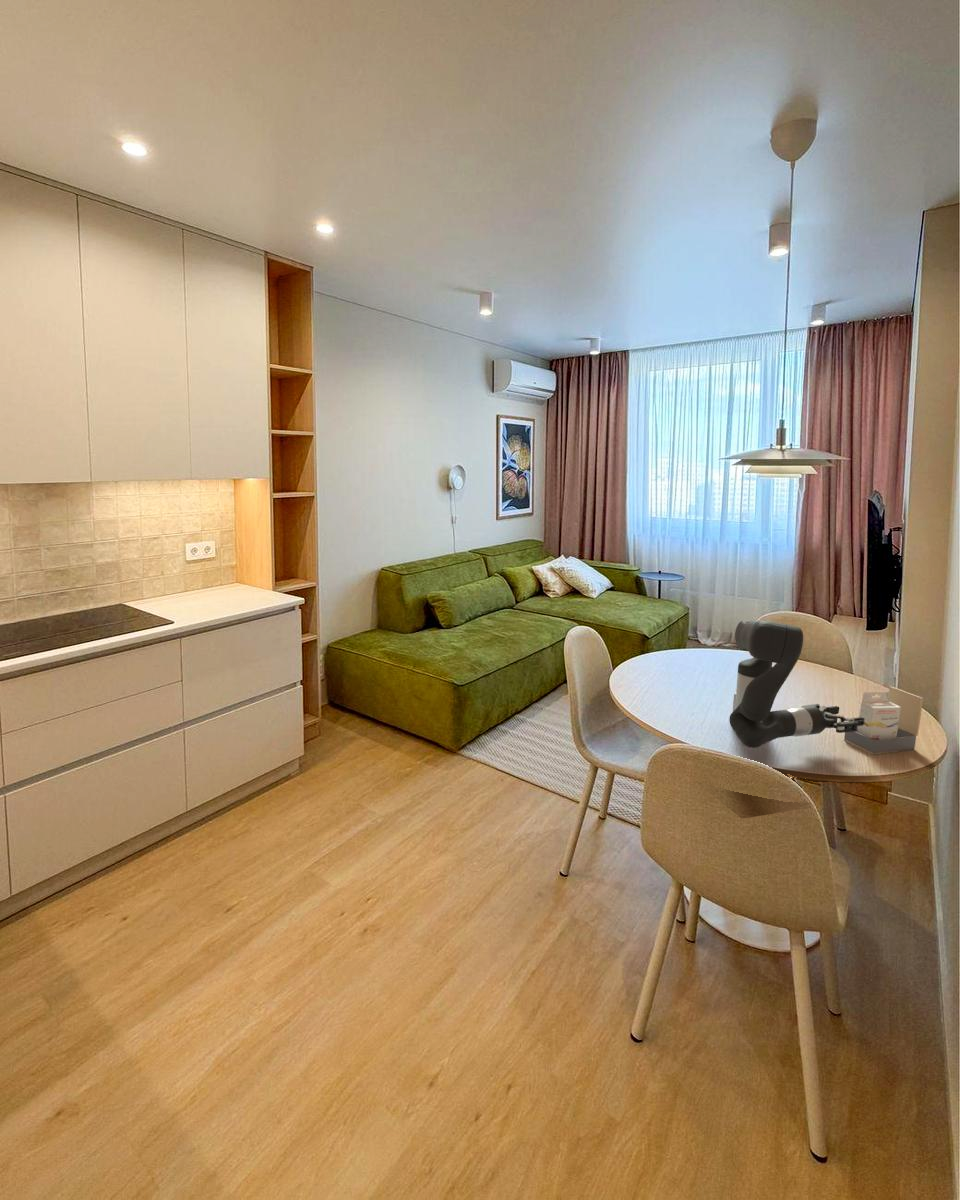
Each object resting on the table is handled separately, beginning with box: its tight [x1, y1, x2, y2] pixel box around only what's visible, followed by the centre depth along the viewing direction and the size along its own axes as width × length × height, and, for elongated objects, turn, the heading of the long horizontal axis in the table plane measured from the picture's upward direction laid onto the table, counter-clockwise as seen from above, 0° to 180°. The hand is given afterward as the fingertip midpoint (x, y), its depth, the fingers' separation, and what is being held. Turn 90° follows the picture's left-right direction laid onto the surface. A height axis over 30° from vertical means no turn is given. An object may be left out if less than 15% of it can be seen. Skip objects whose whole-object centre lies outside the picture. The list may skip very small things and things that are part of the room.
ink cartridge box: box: [857, 690, 901, 740], centre depth 175 cm, size 9×5×15 cm, turn 96°
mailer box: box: [843, 686, 924, 756], centre depth 176 cm, size 10×15×15 cm
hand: (850, 715), depth 172 cm, fingers open, 8 cm apart
